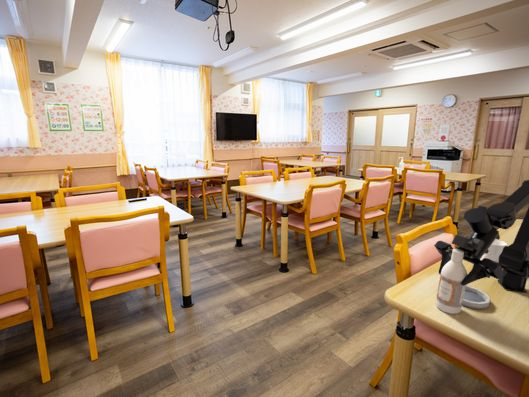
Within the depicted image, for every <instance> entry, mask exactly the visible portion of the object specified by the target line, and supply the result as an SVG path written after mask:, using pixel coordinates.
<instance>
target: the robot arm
mask: <svg viewBox="0 0 529 397" xmlns="http://www.w3.org/2000/svg"><path fill="white" fill-rule="evenodd" d="M527 204H528V205H529V179H525V180H523V182H522V183H521V185H520V186H519V187H518V188H517V189H516V190H515V191H513V192H512V193H511V194H510V195H509V196H508V197H507V198H506V199H504V200H503V201H502V202H499V203H494V204H492V205H490V206H489V207H486V206H483V205H478V206H477V207H473V208H471V209H468V210H467V211H465V212H464V214H463V219H464V220H465V222H466V224H467V225H468V227H469V229H470V230H471V231H472V234H470V236H469V235H467V236H462V235H459V234H457V233H456V234H454V237H453V239H452V241H451V243H448V242H447V241H443V240H438V241H436V243H434V245H433V246H434V248H435V250H437V252H438V253H439V254H440V256H441V261H440V265H439V268H438V271H437V272H438V273H437V274H439V276H440V275H441V271H442V268H443V267H444V265H445V264H447V263H448V262H449V261H450V260H451V257H452V251H453V249H454V248H453V246H452V245H455V249H460V250H463V251H464V256H463V261H465V262H468V263H470V264H472V268H471V270H470V271H469V273H467V276H466V277H465V278H464V279H463V281H462V283H461V285H462V286H464V285H468V284H471V283H473V282H476V281H478V280H481V279H485V278H487V279H490V278H495V279H497V282H498V283H499V285H500V286H502V287H503V289H504V290H506V291H513V292H520V293H526V294H527V293H528V290H526V289H525V288H526V285H527V281H528V279H529V206H528V207H527V210H526V212H525V214H524V217H523V219H522V222H521V224H520V225H519V228H518V231H517V233H516V235H515V238H514V240H513V242H512V243H511V244H509V245H507V246H505V247H504V248H503V251H502V253H501V254H500V255H499V259H498V260H499V263H498V262H495V261H493V260H490V259H488V258H483V259H482V260H481V257H482V256H483V255H484V253H486V254H487V253H488V252H489V251H488V248H489V247H490V245H491V244H492V243H493V242H494V240H495V239H496V240H500V239H501V235H500V231H499V230H498V229H502V230H508V229H509V228H511V227H513V225H515V223H516V221H517V214H518V213H519V212H520V211H521V210H522V209H523V208H524V207H526V205H527ZM497 228H498V229H497Z"/></svg>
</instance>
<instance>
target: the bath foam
mask: <svg viewBox="0 0 529 397" xmlns="http://www.w3.org/2000/svg"><path fill="white" fill-rule="evenodd" d="M463 256H464V251H463V250H460V249H457V248H453V251H452V257H451V260H450V261H449V262H448V263H447V264H445V265H444V267H443V268H442V271H441V275H440V274H439V280H438V286H437V287H438V288H437V293H436V299H435V305H436V307H437V308H438V309H439V310H440V311H442V312H444V313H446V314H452V315H457V314H459V313H461V311H462V307H463V306H462V303H463V298H464V293H465V288H466V285H464V286H462V285H461V283H462V281H463V279H464V278H465V277H466V276H467V275H468V272H467V268H466V267H465V265H464V263H463V261H464V260H463Z"/></svg>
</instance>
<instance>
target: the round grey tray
mask: <svg viewBox="0 0 529 397" xmlns="http://www.w3.org/2000/svg"><path fill="white" fill-rule="evenodd" d="M490 302H491V298H490V297H489V295H488V294H487V293H486V292H484V291H482V290H480V289H479V288H476V287H473V286H470V285H468V284H467V285H466V288H465V293H464V298H463V303H462V307H466V308H468V309H474V310H486V309H488V308H490V307H489V306H490Z"/></svg>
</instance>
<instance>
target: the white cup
mask: <svg viewBox="0 0 529 397" xmlns="http://www.w3.org/2000/svg"><path fill="white" fill-rule="evenodd" d="M505 246H508V243H506V242H505V241H503V240H500V239H499V240H497V239H495V240H494V242H493V243H492V244H491V245H490V247H489V248H488V251H489V252H488V253H487V254H486V253H484V255H483V256H482V257H481V258H480V260H482V259H483V258H488V259H490V260H493V261H495V262H498V263H499V260H498V259H499V255H500V254H501V253H502V251H503V248H504V247H505Z"/></svg>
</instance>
